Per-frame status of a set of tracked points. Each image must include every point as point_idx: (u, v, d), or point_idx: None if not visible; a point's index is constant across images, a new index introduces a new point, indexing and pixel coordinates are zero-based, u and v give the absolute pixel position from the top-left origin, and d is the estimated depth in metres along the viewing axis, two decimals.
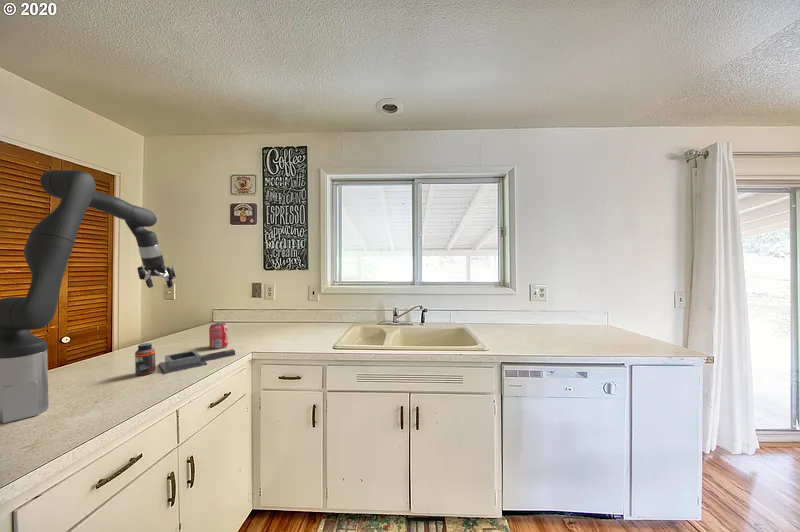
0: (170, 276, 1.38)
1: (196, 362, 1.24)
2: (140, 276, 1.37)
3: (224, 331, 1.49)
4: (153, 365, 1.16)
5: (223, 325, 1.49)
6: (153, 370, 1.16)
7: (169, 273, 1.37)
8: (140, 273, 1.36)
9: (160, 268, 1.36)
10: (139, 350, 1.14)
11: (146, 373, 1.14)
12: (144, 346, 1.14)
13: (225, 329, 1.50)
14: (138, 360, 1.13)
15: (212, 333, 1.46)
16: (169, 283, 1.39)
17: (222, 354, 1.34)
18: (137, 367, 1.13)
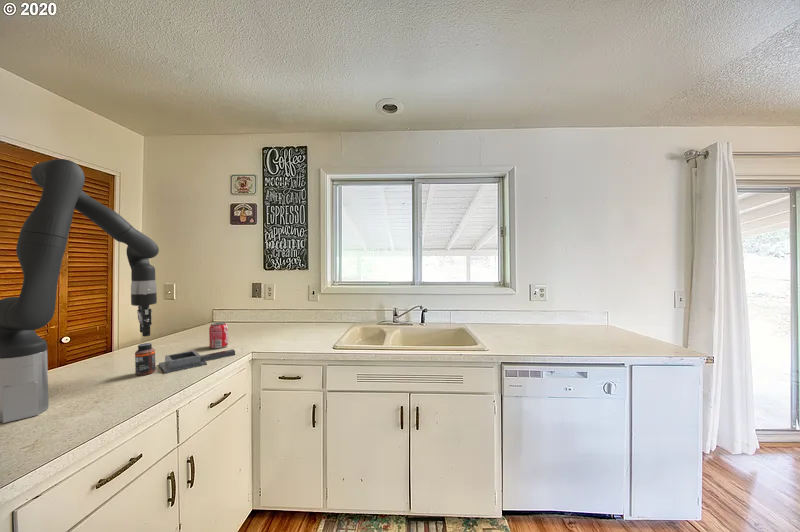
0: (142, 321, 1.10)
1: (196, 362, 1.24)
2: None
3: (224, 331, 1.49)
4: (153, 365, 1.16)
5: (223, 325, 1.49)
6: (153, 370, 1.16)
7: (142, 317, 1.10)
8: None
9: (141, 309, 1.12)
10: (139, 350, 1.14)
11: (146, 373, 1.14)
12: (144, 346, 1.14)
13: (225, 329, 1.50)
14: (138, 360, 1.13)
15: (212, 333, 1.46)
16: (144, 330, 1.12)
17: (222, 354, 1.34)
18: (137, 367, 1.13)
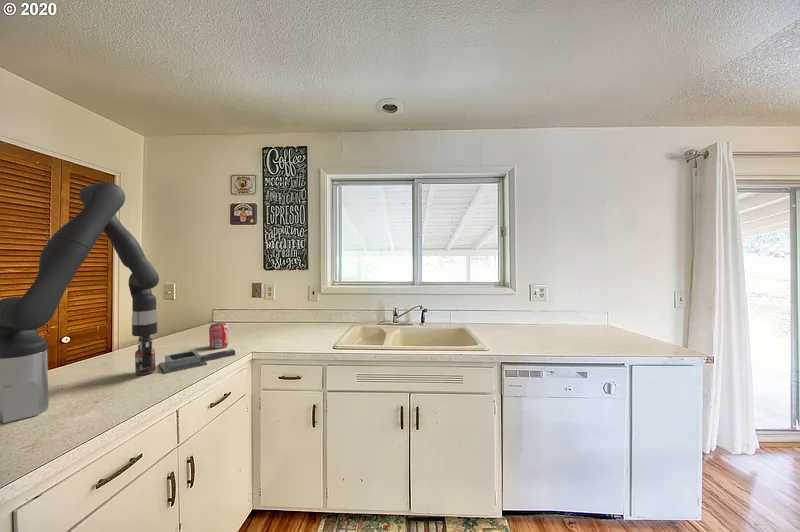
0: (142, 353, 1.11)
1: (196, 362, 1.24)
2: None
3: (224, 331, 1.49)
4: (153, 365, 1.16)
5: (223, 325, 1.49)
6: (153, 370, 1.16)
7: (142, 350, 1.11)
8: None
9: (142, 340, 1.12)
10: (139, 350, 1.14)
11: (146, 373, 1.14)
12: None
13: (225, 329, 1.50)
14: (138, 360, 1.13)
15: (212, 333, 1.46)
16: (144, 362, 1.12)
17: (222, 354, 1.34)
18: (137, 367, 1.13)
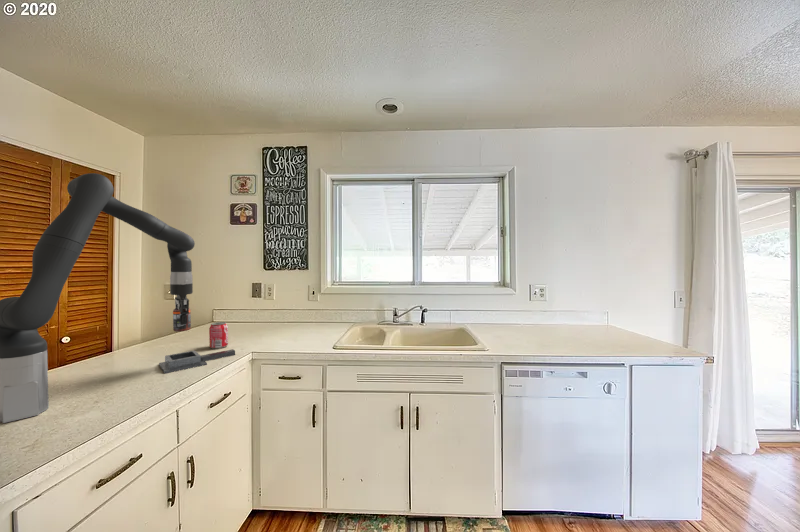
0: (181, 310, 1.20)
1: (196, 362, 1.24)
2: None
3: (224, 331, 1.49)
4: (189, 323, 1.25)
5: (223, 325, 1.49)
6: (189, 327, 1.25)
7: (181, 307, 1.19)
8: (175, 304, 1.28)
9: (180, 298, 1.21)
10: (176, 308, 1.23)
11: (183, 329, 1.23)
12: None
13: (225, 329, 1.50)
14: (176, 317, 1.22)
15: (212, 333, 1.46)
16: (181, 319, 1.21)
17: (222, 354, 1.34)
18: (175, 324, 1.22)
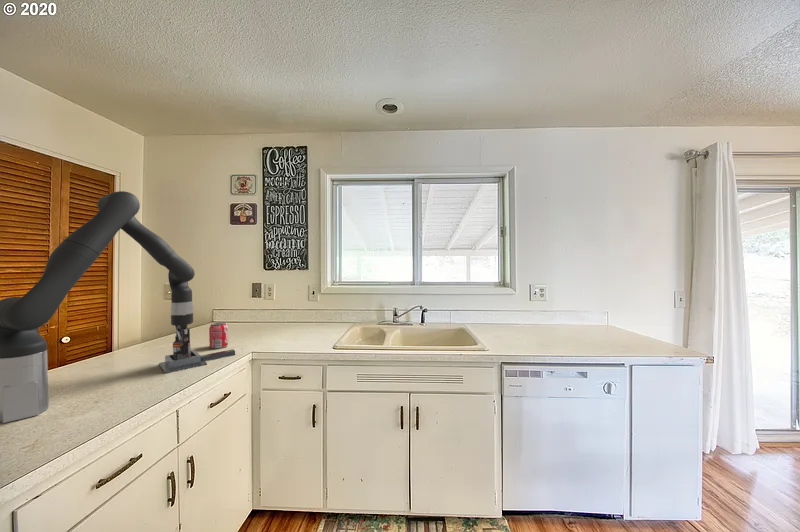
0: (182, 340, 1.19)
1: (196, 362, 1.24)
2: None
3: (224, 331, 1.49)
4: (189, 355, 1.25)
5: (223, 325, 1.49)
6: None
7: (182, 336, 1.19)
8: None
9: (180, 329, 1.22)
10: (176, 340, 1.23)
11: None
12: None
13: (225, 329, 1.50)
14: (176, 350, 1.22)
15: (212, 333, 1.46)
16: (183, 348, 1.21)
17: (222, 354, 1.34)
18: (175, 356, 1.22)
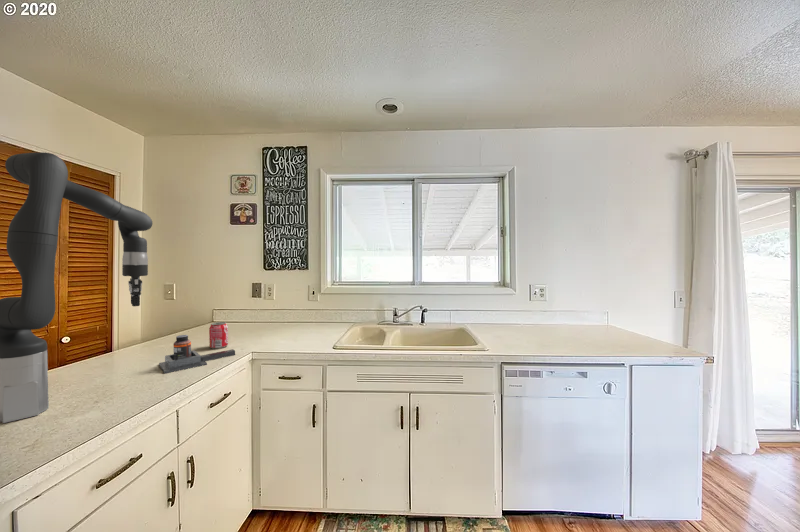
0: (132, 290, 1.12)
1: (196, 362, 1.24)
2: None
3: (224, 331, 1.49)
4: (189, 355, 1.25)
5: (223, 325, 1.49)
6: None
7: (132, 286, 1.12)
8: None
9: (132, 280, 1.15)
10: (177, 341, 1.23)
11: None
12: (182, 337, 1.23)
13: (225, 329, 1.50)
14: (177, 351, 1.22)
15: (212, 333, 1.46)
16: (133, 300, 1.14)
17: (222, 354, 1.34)
18: (176, 357, 1.22)
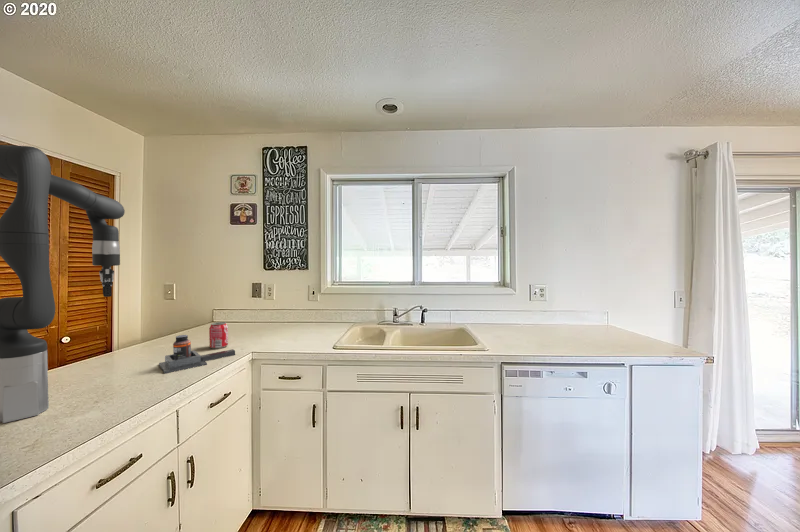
0: (102, 280, 1.09)
1: (196, 362, 1.24)
2: None
3: (224, 331, 1.49)
4: (189, 355, 1.25)
5: (223, 325, 1.49)
6: None
7: (102, 276, 1.09)
8: None
9: (102, 269, 1.11)
10: (177, 341, 1.23)
11: None
12: (181, 337, 1.23)
13: (225, 329, 1.50)
14: (176, 351, 1.22)
15: (212, 333, 1.46)
16: (104, 290, 1.10)
17: (222, 354, 1.34)
18: (175, 357, 1.22)
